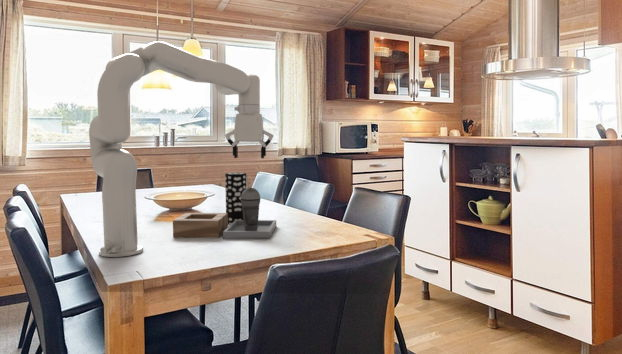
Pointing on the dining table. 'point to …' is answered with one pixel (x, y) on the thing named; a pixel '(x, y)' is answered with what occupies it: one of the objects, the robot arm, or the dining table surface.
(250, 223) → the beverage cup
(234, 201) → the spotted tube
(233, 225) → the slate tray
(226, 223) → the walnut sleeve
